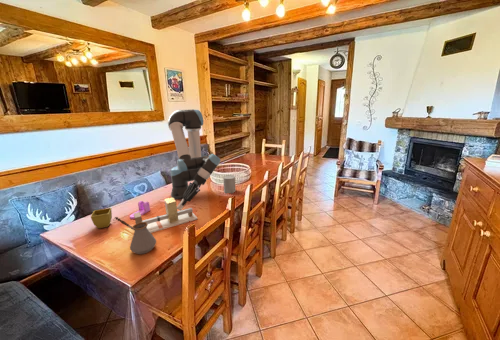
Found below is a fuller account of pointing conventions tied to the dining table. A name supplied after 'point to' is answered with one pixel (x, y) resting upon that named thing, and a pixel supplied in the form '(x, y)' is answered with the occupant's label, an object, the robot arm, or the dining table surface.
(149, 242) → the coffee pot
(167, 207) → the tan rectangular block
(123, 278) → the dining table surface
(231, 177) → the gray cylinder
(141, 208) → the bracket
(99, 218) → the flower pot
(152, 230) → the rod gauge
